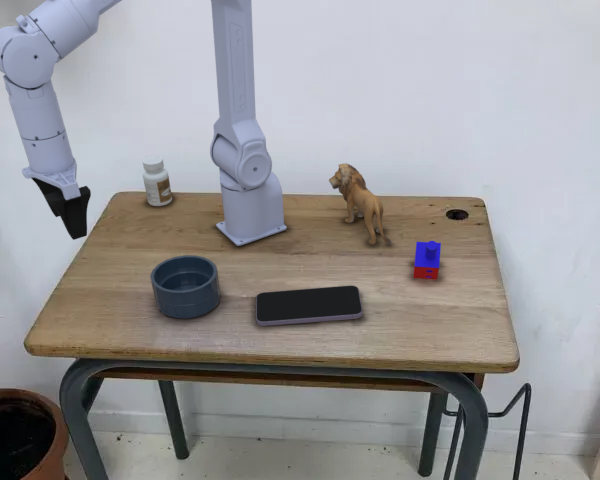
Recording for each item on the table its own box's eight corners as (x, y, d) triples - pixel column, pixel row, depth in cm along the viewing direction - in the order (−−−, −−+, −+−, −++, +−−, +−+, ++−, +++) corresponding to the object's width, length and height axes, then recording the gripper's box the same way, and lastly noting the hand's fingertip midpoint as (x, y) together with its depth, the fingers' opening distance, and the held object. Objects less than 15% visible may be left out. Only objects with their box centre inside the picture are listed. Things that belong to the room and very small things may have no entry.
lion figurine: (325, 214, 119) (324, 164, 113) (350, 205, 121) (351, 155, 115) (378, 251, 110) (380, 199, 103) (404, 241, 112) (408, 189, 105)
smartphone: (256, 292, 101) (357, 284, 101) (256, 298, 102) (357, 290, 102) (256, 322, 96) (363, 314, 96) (256, 329, 97) (363, 320, 97)
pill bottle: (167, 207, 122) (160, 166, 117) (144, 206, 123) (135, 164, 118) (175, 196, 125) (168, 154, 120) (153, 194, 126) (145, 153, 121)
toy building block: (412, 283, 106) (415, 256, 98) (414, 259, 107) (417, 231, 100) (436, 285, 105) (440, 258, 98) (438, 260, 107) (442, 232, 99)
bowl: (203, 276, 106) (199, 248, 103) (232, 306, 100) (228, 277, 97) (146, 297, 103) (140, 268, 99) (172, 329, 97) (167, 300, 94)
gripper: (-3, 120, 92) (28, 212, 102) (28, 159, 83) (59, 256, 93) (48, 108, 95) (74, 199, 104) (84, 144, 86) (108, 240, 95)
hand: (70, 225), depth 99 cm, fingers open, 7 cm apart
